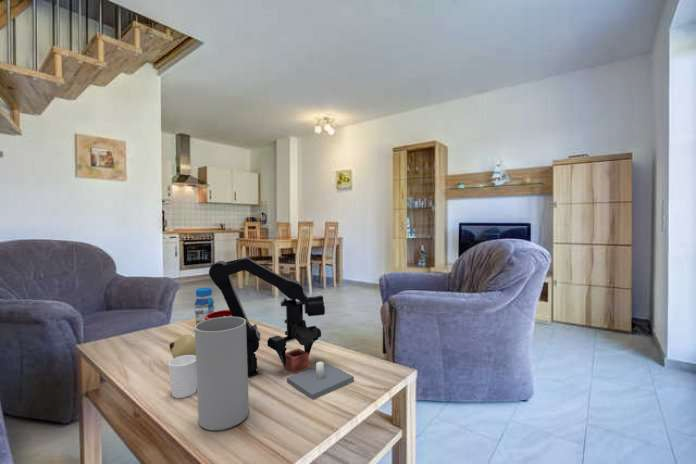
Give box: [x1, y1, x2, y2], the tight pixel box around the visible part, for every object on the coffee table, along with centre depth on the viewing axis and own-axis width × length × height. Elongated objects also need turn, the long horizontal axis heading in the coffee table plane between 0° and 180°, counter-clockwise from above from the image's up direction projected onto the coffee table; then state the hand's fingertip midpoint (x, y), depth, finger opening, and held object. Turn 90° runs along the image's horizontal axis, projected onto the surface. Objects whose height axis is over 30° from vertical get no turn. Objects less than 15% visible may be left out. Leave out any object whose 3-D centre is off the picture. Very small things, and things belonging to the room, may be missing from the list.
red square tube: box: [282, 348, 310, 375], centre depth 118 cm, size 6×6×5 cm
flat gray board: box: [286, 361, 355, 401], centre depth 108 cm, size 16×14×6 cm
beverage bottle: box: [194, 287, 215, 326], centre depth 158 cm, size 8×8×20 cm
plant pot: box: [205, 309, 232, 320], centre depth 145 cm, size 13×13×12 cm
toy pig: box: [168, 334, 196, 359], centre depth 124 cm, size 10×12×11 cm
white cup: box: [167, 355, 197, 399], centre depth 103 cm, size 8×8×10 cm
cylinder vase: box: [194, 316, 250, 431], centre depth 89 cm, size 12×12×25 cm
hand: (295, 361), depth 118 cm, fingers open, 9 cm apart
